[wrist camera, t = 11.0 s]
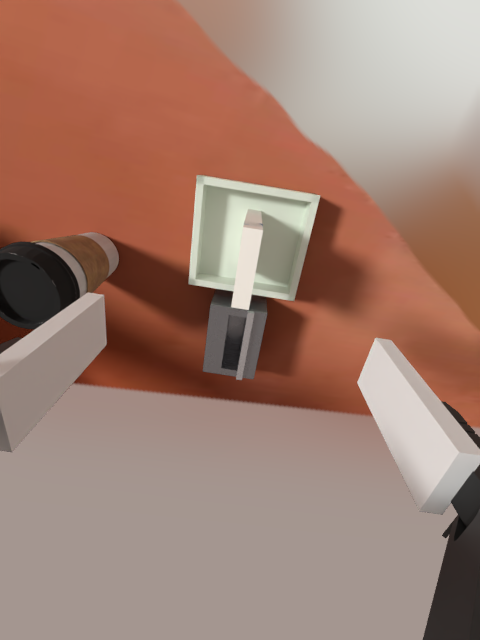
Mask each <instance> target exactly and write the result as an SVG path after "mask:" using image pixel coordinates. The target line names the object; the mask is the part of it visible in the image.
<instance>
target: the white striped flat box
mask: <svg viewBox="0 0 480 640" xmlns="http://www.w3.org/2000/svg"><path fill="white" fill-rule="evenodd" d="M262 234H263V224H262V215H261V211H259V210H253V209H248V211H247V214H246V218H245V221H244V225H243V231H242V238H241V245H240V251H239V258H238V265H237V271H236V278H235V285H234V291H233V298H232V305H231V307H233V308H239V309H245V310H249V306H250V301H251V295H252V290H253V284H254V278H255V273H256V267H257V262H258V256H259V251H260V245H261V239H262Z"/></svg>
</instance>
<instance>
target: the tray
mask: <svg viewBox="0 0 480 640" xmlns="http://www.w3.org/2000/svg"><path fill="white" fill-rule="evenodd" d="M319 199H320V195H317V194H313V193H307V192H301V191H295V190H289V189H283V188H277V187H271V186H265V185H259V184H253V183H247V182H241V181H235V180H229V179H223V178H217V177H212V176H206V175H197V182H196V194H195V207H194V220H193V233H192V246H191V258H190V271H189V284H190V285H196V286H203V287H209V288H215V289H221V290H228V291H234V285H235V278H236V271H237V265H238V258H239V251H240V245H241V238H242V231H243V225H244V221H245V218H246V214H247V211H248V209H253V210H259V211H261V215H262V224H263V234H262V239H261V245H260V251H259V256H258V262H257V267H256V273H255V278H254V284H253V290H252V294H253V295H259V296H265V297H271V298H278V299H284V300H290V301H294V299H295V295H296V291H297V287H298V283H299V279H300V275H301V271H302V267H303V263H304V259H305V255H306V251H307V247H308V243H309V239H310V235H311V231H312V227H313V223H314V219H315V215H316V211H317V207H318V203H319Z"/></svg>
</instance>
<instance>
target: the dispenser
mask: <svg viewBox="0 0 480 640" xmlns="http://www.w3.org/2000/svg"><path fill="white" fill-rule="evenodd" d="M232 298H233V291H228V290H221V289H216V291H215V293H214V296H213V299H212V302H211V305H210V313H209V322H208V330H207V339H206V348H205V356H204V365H203V372H209V373H216V374H222V375H229V376H235V377H236V379H237V380H242V378H248V379H254V375H255V370H256V365H257V361H258V356H259V351H260V346H261V342H262V337H263V332H264V327H265V323H266V318H267V301H266V297H265V296H259V295H253V294H252V295H251V301H250V306H249V310H245V309H239V308H233V307H231V305H232Z"/></svg>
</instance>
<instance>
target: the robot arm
mask: <svg viewBox="0 0 480 640" xmlns="http://www.w3.org/2000/svg"><path fill="white" fill-rule="evenodd" d="M106 345H107V339H106V320H105V302H104V295H101V294H95V293H89V292H88V293H86V294H85V295H84V296H82V297H81V298H79V299H78V300H76V301H75V302H74V303H72V304H71V305H69V306H68V307H66V308H65V309H64V310H62V311H61V312H59V313H58V314H56V315H55V316H54V317H52V318H51V319H49V320H48V321H46V322H45V323H44V324H42V325H41V326H39V327H38V328H36V329H35V330H34V331H32V332H31V333H29V334H28V335H26V336H25V337H24V338H19V337H17V338H14V339H12V340H9V341H7V342H4V343H2V344H0V451H7V452H13V451H14V450H15V448H16V447H17V446H18V445H19V444H20V443H21V442H22V440H23V439H24V438H25V437H26V436H27V435H28V434H29V432H30V431H31V430H32V429H33V428H34V427H35V426H36V425H37V423H38V422H39V421H40V420H41V419H42V418H43V416H44V415H45V414H46V413H47V412H48V411H49V410H50V409H51V407H52V406H53V405H54V404H55V403H56V402H57V401H58V399H59V398H60V397H61V396H62V395H63V394H64V393H65V392H66V390H67V389H68V388H69V387H70V386H71V385H72V384H73V382H74V381H75V380H76V379H77V378H78V377H79V376H80V374H81V373H82V372H83V371H84V370H85V369H86V368H87V367H88V365H89V364H90V363H91V362H92V361H93V360H94V359H95V357H96V356H97V355H98V354H99V353H100V352H101V351H102V349H103V348H104V347H105V346H106ZM357 384H358V386H359V388H360V390H361V392H362V394H363V396H364V398H365V400H366V402H367V404H368V406H369V408H370V411H371V413H372V415H373V417H374V419H375V421H376V423H377V425H378V427H379V429H380V431H381V433H382V435H383V437H384V439H385V441H386V444H387V446H388V448H389V450H390V452H391V454H392V456H393V458H394V460H395V462H396V464H397V466H398V468H399V470H400V473H401V475H402V477H403V479H404V481H405V483H406V485H407V487H408V489H409V491H410V493H411V495H412V497H413V500H414V502H415V504H416V506H417V508H418V510H419V511H420V512H427V513H434V514H441V515H442V514H443V513H444V512H445V510H446V509H447V507H448V506H449V505H450V504H451V503H452V504H453V506H454V508H455V510H456V511H457V513H458V516H457V517H456V518H455V519H454V521H453V522H452V523H451V524H450V526H449V527H448V528H447V530H446V531H445V532H444V533H443V535H442V536H443V537H445V538H447V536H448V535H449V539H448V543H447V547H446V550H445V554H444V558H443V563H442V566H441V570H440V574H439V578H438V582H437V586H436V590H435V594H434V598H433V602H432V606H431V609H430V614H429V618H428V621H427V626H426V629H425V633H424V637H423V640H480V437H479V436H478V435H477V434H475V431H474V430H473V429H472V428H471V427H470V426H469V425H467V422H466V421H465V420H464V418H463V417H462V416H461V415H460V414H459V413H458V412H457V411H456V410H455V409H453V408H452V407H451V406H450V405H448V404H447V403H446V402H442V401H440V400H439V399H438V397H437V396H436V395H435V394H434V392H433V391H432V390H431V389H430V387H429V386H428V385H427V384H426V383H425V381H424V380H423V379H422V378H421V376H420V375H419V374H418V373H417V371H416V370H415V369H414V368H413V366H412V365H411V364H410V363H409V362H408V360H407V359H406V358H405V357H404V355H403V354H402V353H401V352H400V350H399V349H398V348H397V347H396V346H395V344H394V343H393V342H392V341H391V340H387V339H381V338H375V340H374V343H373V345H372V348H371V350H370V353H369V355H368V358H367V360H366V363H365V365H364V367H363V370H362V372H361V375H360V377H359V380H358V382H357Z"/></svg>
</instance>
